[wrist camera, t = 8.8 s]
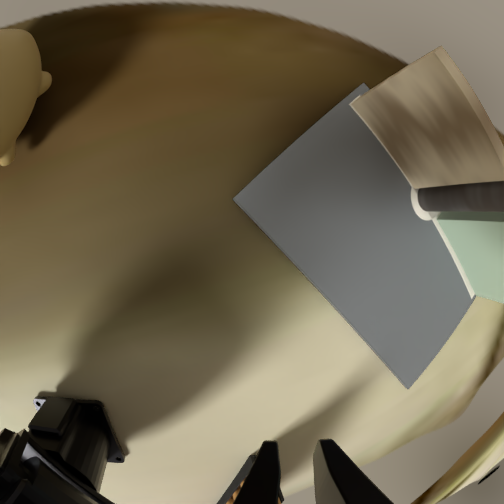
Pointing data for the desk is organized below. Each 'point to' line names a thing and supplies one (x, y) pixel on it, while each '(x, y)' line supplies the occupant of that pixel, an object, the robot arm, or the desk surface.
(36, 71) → the cream rounded piece
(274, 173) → the card
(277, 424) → the desk surface
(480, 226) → the panel
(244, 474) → the ammunition clip
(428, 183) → the fixed fence panel
